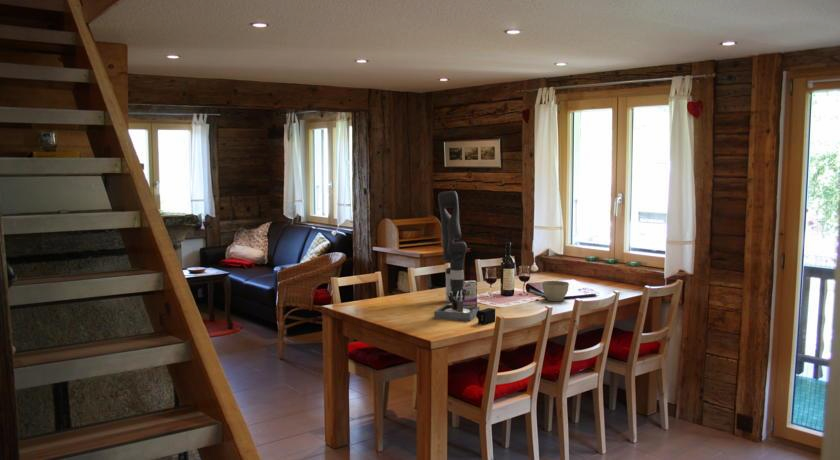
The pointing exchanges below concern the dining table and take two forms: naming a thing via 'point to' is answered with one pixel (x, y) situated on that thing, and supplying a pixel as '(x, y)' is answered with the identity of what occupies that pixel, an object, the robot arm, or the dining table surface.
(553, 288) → the planter bowl
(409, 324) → the dining table surface
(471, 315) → the dial housing
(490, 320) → the digital camera
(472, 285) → the candy bar box
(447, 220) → the robot arm
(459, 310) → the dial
